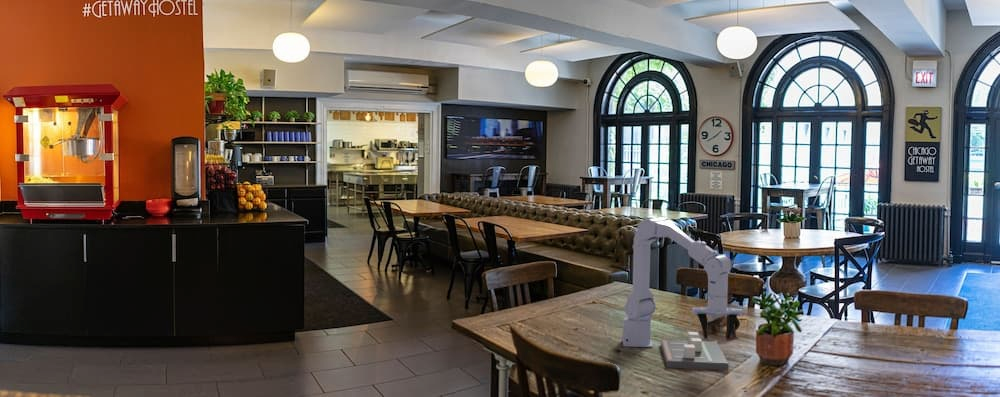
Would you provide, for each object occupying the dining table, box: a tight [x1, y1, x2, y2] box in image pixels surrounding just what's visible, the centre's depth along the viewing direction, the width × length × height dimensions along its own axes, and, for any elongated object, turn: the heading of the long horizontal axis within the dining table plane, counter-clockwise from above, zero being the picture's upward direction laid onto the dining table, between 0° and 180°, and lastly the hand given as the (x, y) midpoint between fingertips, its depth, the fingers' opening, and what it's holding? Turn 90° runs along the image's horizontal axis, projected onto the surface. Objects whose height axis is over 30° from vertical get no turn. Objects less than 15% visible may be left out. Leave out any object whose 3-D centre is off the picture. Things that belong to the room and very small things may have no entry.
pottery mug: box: [707, 315, 741, 340], centre depth 248 cm, size 12×9×8 cm
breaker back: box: [687, 331, 700, 345], centre depth 230 cm, size 3×3×3 cm
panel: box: [660, 339, 729, 371], centre depth 224 cm, size 18×22×2 cm
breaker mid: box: [691, 337, 703, 352], centre depth 223 cm, size 3×3×3 cm
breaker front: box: [684, 344, 695, 358], centre depth 217 cm, size 3×3×3 cm
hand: (716, 338), depth 215 cm, fingers open, 6 cm apart
